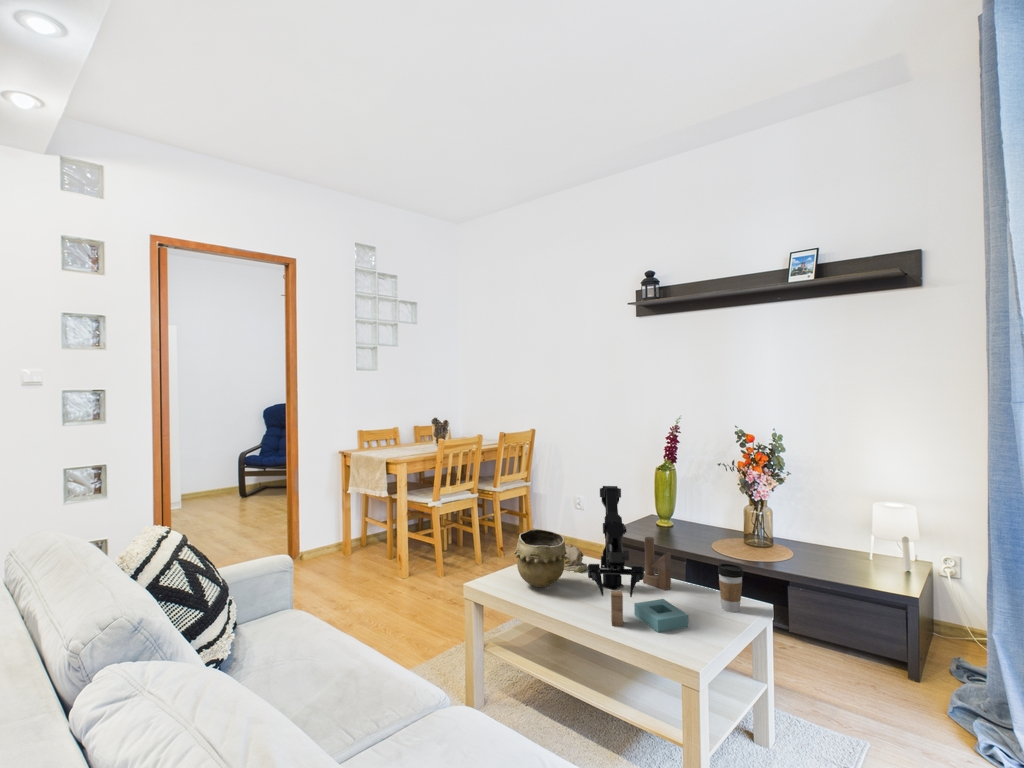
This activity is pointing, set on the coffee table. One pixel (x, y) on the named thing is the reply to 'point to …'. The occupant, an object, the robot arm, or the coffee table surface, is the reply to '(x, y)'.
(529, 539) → the clay pot
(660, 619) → the teal square hole block
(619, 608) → the square peg
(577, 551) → the ceramic model
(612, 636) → the coffee table surface
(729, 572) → the coffee cup
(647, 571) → the wooden block
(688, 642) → the coffee table surface
